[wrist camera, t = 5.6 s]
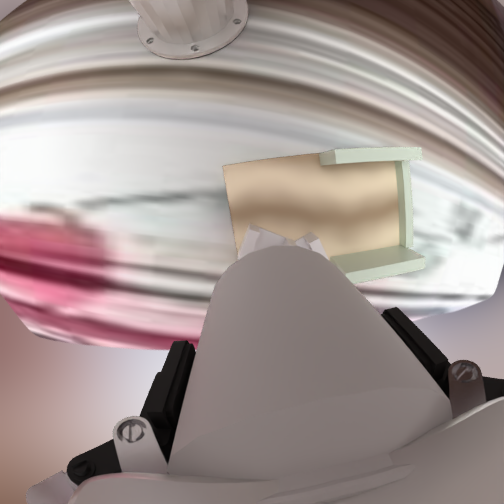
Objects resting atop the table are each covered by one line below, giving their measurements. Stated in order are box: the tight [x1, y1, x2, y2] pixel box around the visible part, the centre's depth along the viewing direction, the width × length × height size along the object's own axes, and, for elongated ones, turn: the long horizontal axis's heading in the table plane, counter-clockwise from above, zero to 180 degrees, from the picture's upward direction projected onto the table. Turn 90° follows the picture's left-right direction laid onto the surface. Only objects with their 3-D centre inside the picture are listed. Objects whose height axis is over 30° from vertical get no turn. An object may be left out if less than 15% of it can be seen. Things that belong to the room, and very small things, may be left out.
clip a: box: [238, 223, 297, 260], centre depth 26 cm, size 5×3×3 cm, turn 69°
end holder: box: [319, 147, 425, 284], centre depth 24 cm, size 12×10×5 cm
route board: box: [223, 153, 404, 261], centre depth 27 cm, size 12×20×1 cm, turn 99°
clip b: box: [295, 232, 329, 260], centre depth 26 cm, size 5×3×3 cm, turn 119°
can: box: [167, 246, 452, 504], centre depth 9 cm, size 8×8×12 cm
